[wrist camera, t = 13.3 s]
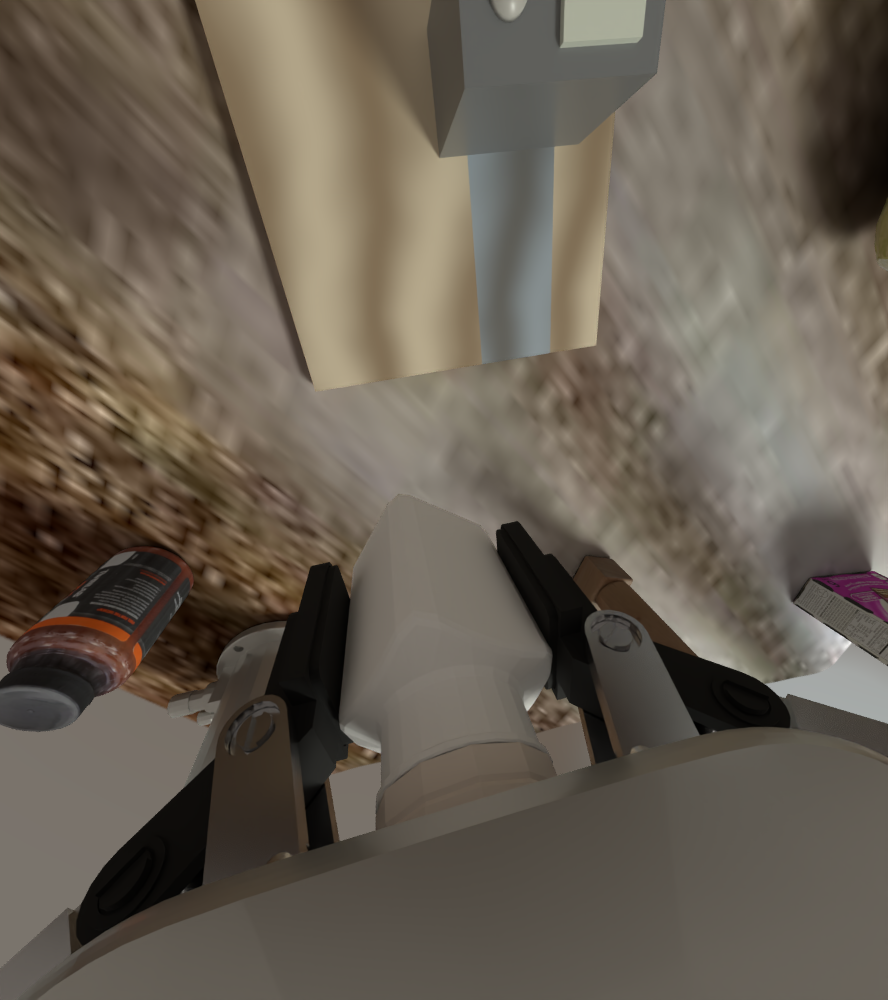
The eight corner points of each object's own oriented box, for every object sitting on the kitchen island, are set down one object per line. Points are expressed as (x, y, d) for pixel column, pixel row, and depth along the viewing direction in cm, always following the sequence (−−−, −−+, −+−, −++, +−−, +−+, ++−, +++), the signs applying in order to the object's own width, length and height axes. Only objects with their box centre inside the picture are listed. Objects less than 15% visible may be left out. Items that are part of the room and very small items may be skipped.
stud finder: (439, 158, 18) (466, 83, 12) (426, 29, 16) (452, -131, 10) (578, 144, 19) (662, 68, 13) (584, 19, 17) (687, -134, 11)
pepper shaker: (438, 597, 14) (529, 986, 6) (347, 569, 13) (291, 1034, 4) (488, 522, 13) (699, 879, 4) (394, 481, 11) (445, 898, 3)
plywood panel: (318, 388, 23) (315, 391, 22) (166, -114, 14) (148, -151, 13) (586, 344, 25) (595, 345, 24) (619, -127, 15) (637, -159, 14)
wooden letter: (545, 627, 39) (656, 827, 24) (584, 553, 35) (753, 739, 19) (571, 628, 40) (694, 822, 25) (612, 557, 36) (795, 737, 20)
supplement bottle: (106, 537, 25) (-67, 671, 16) (196, 547, 27) (91, 675, 17) (115, 596, 28) (-30, 745, 18) (197, 602, 29) (106, 742, 20)
